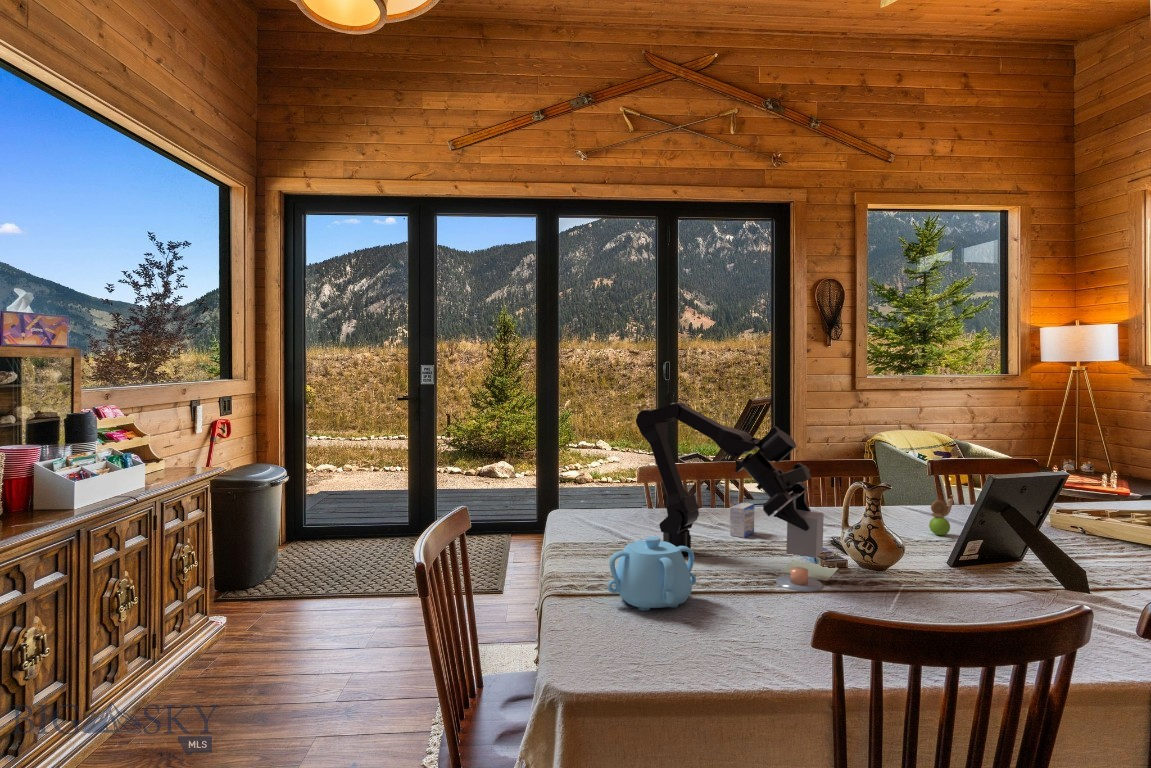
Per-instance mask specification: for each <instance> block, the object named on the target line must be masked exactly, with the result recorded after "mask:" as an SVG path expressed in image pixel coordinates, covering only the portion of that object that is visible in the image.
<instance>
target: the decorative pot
mask: <svg viewBox="0 0 1151 768" xmlns="http://www.w3.org/2000/svg"><path fill="white" fill-rule="evenodd" d="M681 551H686V552H688V553H689V555H688V561H687V562H686V560H685V556H683V555H682V553H681ZM617 559H618V561H617ZM695 559H696V558H695V553H694V551H693V550H692V548H691V549H690V548H688V547H686V546H678V547H676V546H674V545H673V544H671V543H669V542H665V541H663V540H661V538H660V537H657V536H655V535H654V536H653V535H652V536H646V537H645V538H644V539H637V540H635V541H634V542H630V543H627V545H625V547H624V549H623V550H619V551H616V552H615V553H613V554H612V555H611V556H610V558H609V562H608V563H609V565H608V566H609V570H610V573H611V575H612V576H611V577H612V578H613V579H611V580H609V581H608V582H607V585H606V588H607V590H608V592H610V593H611V594H618V595H619V596H620V598H621V599H623V601H624V602H626V604H629V605H630V606H633V607H636V608H637V610H639V611H641V612H643V611H644V612H646V611H648V612H649V611H650V610H651V608H652V609H658V608H661V609H662V608H673V609H675V608H679V605H681V604H683V603H685V602H686V601H687V599H689V597H690V595H691V593H692V586H693V585H695V584H696V582H697V578H696V575H695V574H694V573H693V572H692V570H693V568H694V564H695ZM616 561H617V564H616ZM615 564H616V565H615ZM613 584H614V587H612V585H613Z"/></svg>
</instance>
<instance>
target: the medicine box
mask: <svg viewBox="0 0 1151 768" xmlns="http://www.w3.org/2000/svg"><path fill="white" fill-rule="evenodd" d="M729 525H730V526H729V536H731V537H737V538H742V539H744V538H747V537H749V536H750V535H752V534H754V533H755V504H754V503H749V502H740V503H737V504H734V505H733V506H731V507H730V508H729Z"/></svg>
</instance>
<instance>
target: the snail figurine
mask: <svg viewBox="0 0 1151 768" xmlns="http://www.w3.org/2000/svg"><path fill="white" fill-rule="evenodd" d="M950 497H951V498H948V499H947V503H946V502H945V501H943V500H941V499H938V500H937V499H936V500H934V501H932V503H931V505H930V510H931V513H930V514H931V515H932V516H933V518H932V519H930V521H929V523H928V527H929V530H930V531H931V532H932V533H933V534H934V535H937V536H945V535H947V534H948V533H949V532H950V531H951V524H950V521H949V520H948V519H947V518H945V517H947V516H949V514H950V513H951V511H952V507H953V503H954V500H953V499H954V497H955V496H954V495H953V494H950Z"/></svg>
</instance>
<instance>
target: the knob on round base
mask: <svg viewBox="0 0 1151 768" xmlns="http://www.w3.org/2000/svg"><path fill="white" fill-rule="evenodd" d="M775 582H776V584H777V585H778V586H780V587H782V588H784V589H787V590H790V591H795V592H796V591H797V592H809V593H810V592H817V591H821V590H822V589H823V583H822V582H821V581H819V579H816V578H811V577H808V569H806V568H802V567H792V568H791V574H790V575H789V574H788V575H782V576H779V577H777V578H776V580H775Z"/></svg>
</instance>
